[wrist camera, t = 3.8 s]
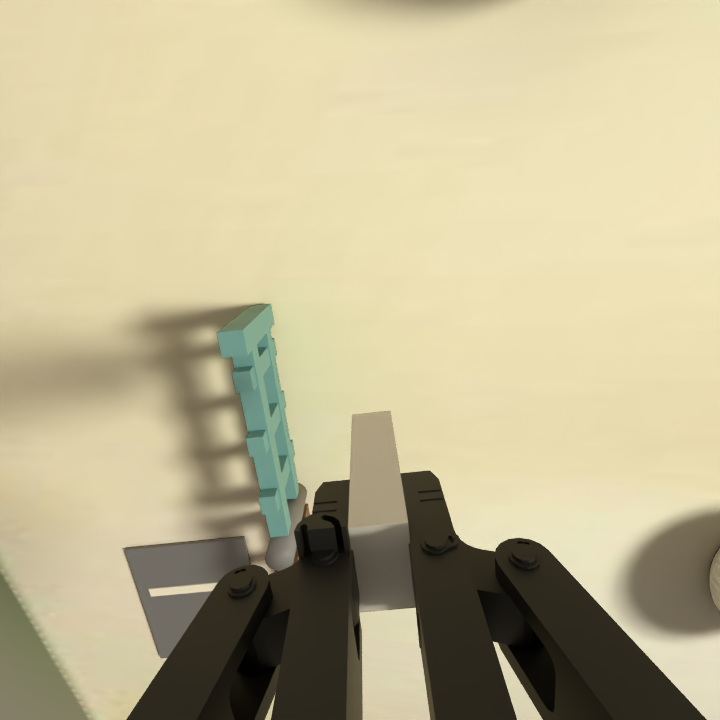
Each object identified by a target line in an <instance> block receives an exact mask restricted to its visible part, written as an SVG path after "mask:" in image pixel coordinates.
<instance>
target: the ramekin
mask: <svg viewBox="0 0 720 720" xmlns="http://www.w3.org/2000/svg"><path fill="white" fill-rule="evenodd" d="M710 591H711V595H712V597H713V601H714V603H715V605H716V607H717V608H718V610H719V611H720V548H719V550H718V552H717V553H716V555H715V557H714V559H713V561H712V564H711V568H710Z"/></svg>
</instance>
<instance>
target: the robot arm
mask: <svg viewBox="0 0 720 720" xmlns="http://www.w3.org/2000/svg"><path fill="white" fill-rule="evenodd" d="M312 513H313V514H312V515H310V516H308V517H306V518H304V519H303V520H301V521H300V522H299V523H298V524H297V526H296V528H295V530H294V535H295V540H296V545H297V551H298V556H299V560H298V561H297V562H296V563H294V564H293V565H291V566H290V567H288V568H286V569H283V570H281V571H278V572H275V573H272V574H270V575H268V572H267V571H266V570H265V569H264V568H263V567H260V566H257V565H244V566H241V567H238V568H235V569H233V570H232V571H230V572H229V573H227V574H225V575H224V576H223V577H222V579H221V580H220V581H219V582H218V583H217V585H216V586H215V588H214V589H213V591H212V592H211V594H210V595H209V597H208V598H207V600H206V601H205V603H204V604H203V606H202V607H201V609H200V610H199V612H198V613H197V615H196V616H195V618H194V619H193V621H192V622H191V624H190V625H189V627H188V628H187V630H186V631H185V633H184V634H183V636H182V637H181V639H180V640H179V642H178V643H177V645H176V646H175V648H174V649H173V651H172V652H171V654H170V655H169V657H168V658H167V660H166V661H165V663H164V664H163V666H162V667H161V669H160V670H159V672H158V673H157V675H156V676H155V678H154V679H153V681H152V682H151V684H150V685H149V687H148V688H147V690H146V691H145V693H144V694H143V696H142V697H141V699H140V700H139V702H138V703H137V705H136V706H135V708H134V709H133V711H132V712H131V714H130V715H129V717H128V718H127V720H265V718H266V715H267V713H268V710H269V708H270V705H271V703H272V700H273V698H274V695H275V700H274V706H273V712H272V717H271V720H362V630H361V623H360V616H359V605H360V612H371V611H382V610H393V609H404V608H415V607H416V615H417V625H418V635H419V645H420V648H421V654H422V661H423V668H424V675H425V683H426V690H427V697H428V704H429V711H430V719H431V720H517V718H516V715H515V712H514V709H513V705H512V702H511V699H510V696H509V692H508V689H507V686H506V683H505V680H504V676H503V673H502V670H501V667H500V663H499V660H498V657H497V654H496V651H495V647H494V644H493V642H498V643H499V646H500V649H501V650H502V652H503V654H504V655H505V657H506V659H507V660H508V662H509V664H510V665H511V667H512V669H513V670H514V672H515V674H516V675H517V677H518V679H519V680H520V682H521V684H522V685H523V687H524V689H525V690H526V692H527V694H528V695H529V697H530V699H531V700H532V702H533V704H534V705H535V707H536V709H537V710H538V712H539V714H540V715H541V717H542V719H543V720H706V718H705V717H704V716H703V715H702V714H701V713H700V712H699V711H698V710H697V709H696V708H695V707H694V706H693V705H692V703H691V702H690V701H689V700H688V699H687V698H686V697H685V696H684V695H683V694H682V693H681V692H680V691H679V690H678V688H677V687H676V686H675V685H674V684H673V683H672V682H671V681H670V680H669V679H668V678H667V677H666V676H665V675H664V673H663V672H662V671H661V670H660V669H659V668H658V667H657V666H656V665H655V664H654V663H653V662H652V661H651V660H650V658H649V657H648V656H647V655H646V654H645V653H644V652H643V651H642V650H641V649H640V648H639V647H638V646H637V645H636V643H635V642H634V641H633V640H632V639H631V638H630V637H629V636H628V635H627V634H626V633H625V632H624V631H623V630H622V628H621V627H620V626H619V625H618V624H617V623H616V622H615V621H614V620H613V619H612V618H611V617H610V616H609V615H608V613H607V612H606V611H605V610H604V609H603V608H602V607H601V606H600V605H599V604H598V603H597V602H596V601H595V600H594V598H593V597H592V596H591V595H590V594H589V593H588V592H587V591H586V590H585V589H584V588H583V587H582V586H581V584H580V583H579V582H578V581H577V580H576V579H575V578H574V577H573V576H572V575H571V574H570V573H569V572H568V571H567V569H566V568H565V567H564V566H563V565H562V564H561V563H560V562H559V561H558V560H557V559H556V558H555V557H554V556H553V554H552V553H551V552H550V551H549V550H548V549H546V548H545V547H544V546H542V545H541V544H540V543H537V542H535V541H532V540H530V539H523V538H514V539H508V540H506V541H504V542H502V543H500V544H499V546H498V547H497V548H496V552H494V551H487V550H481V549H477V548H474V547H471V546H469V545H467V544H465V543H464V542H463V541H461V540H460V538H459V537H458V535H457V534H456V533H455V531H454V528H453V525H452V522H451V518H450V515H449V512H448V508H447V505H446V502H445V499H444V495H443V492H442V488H441V485H440V482H439V479H438V478H437V477H436V476H435V475H434V474H433V473H432V472H431V471H420V472H410V473H400V468H399V462H398V455H397V449H396V443H395V437H394V430H393V424H392V418H391V412H390V411H383V412H373V413H364V414H354V415H352V431H351V459H350V480H342V481H332V482H323V483H322V485H321V486H320V487H319V488H318V490H317V491H316V492H315V498H314V505H313V511H312ZM275 693H276V694H275Z"/></svg>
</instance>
